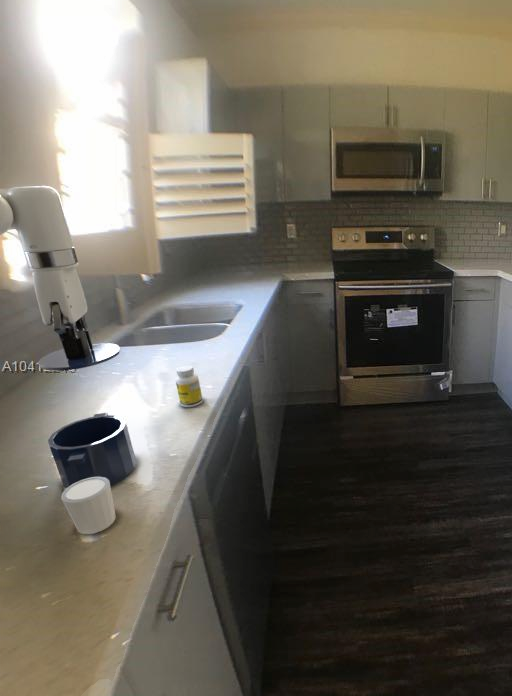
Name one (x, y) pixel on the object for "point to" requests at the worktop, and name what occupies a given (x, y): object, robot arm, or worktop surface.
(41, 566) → the worktop surface
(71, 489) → the white cup
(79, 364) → the pot lid
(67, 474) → the pot
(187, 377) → the supplement bottle
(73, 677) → the worktop surface
